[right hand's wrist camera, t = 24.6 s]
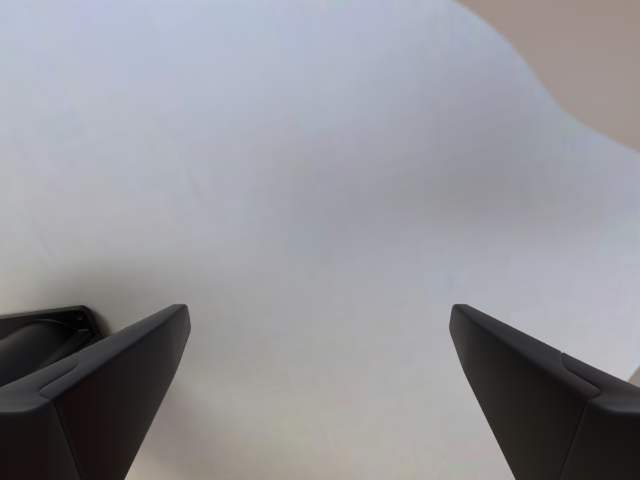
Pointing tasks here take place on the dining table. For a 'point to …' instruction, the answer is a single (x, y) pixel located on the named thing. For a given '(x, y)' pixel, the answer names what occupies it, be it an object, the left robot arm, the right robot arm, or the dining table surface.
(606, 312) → the dining table surface
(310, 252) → the dining table surface
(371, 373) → the dining table surface
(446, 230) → the dining table surface
